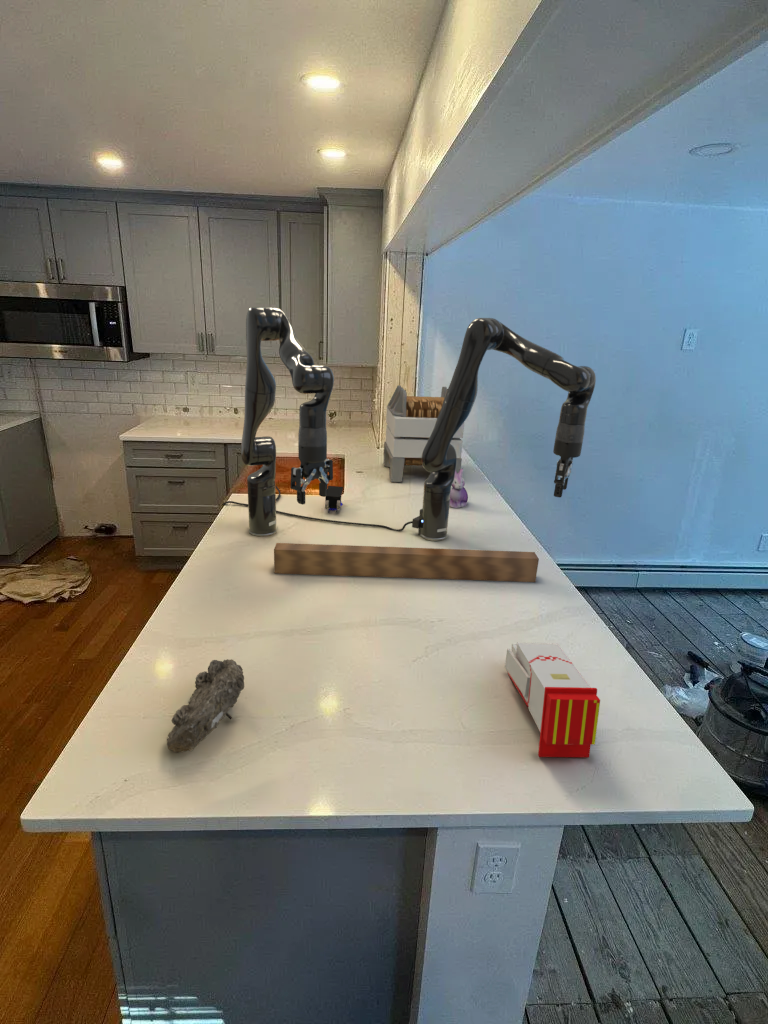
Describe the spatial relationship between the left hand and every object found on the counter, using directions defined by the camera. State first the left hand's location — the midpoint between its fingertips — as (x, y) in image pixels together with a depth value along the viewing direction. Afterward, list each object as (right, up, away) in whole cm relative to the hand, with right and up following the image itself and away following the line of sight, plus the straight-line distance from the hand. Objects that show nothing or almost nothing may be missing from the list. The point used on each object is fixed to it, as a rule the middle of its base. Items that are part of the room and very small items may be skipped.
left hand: (312, 499), depth 156 cm
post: (+26, -22, +14) cm, 37 cm away
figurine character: (0, -2, +65) cm, 65 cm away
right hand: (+71, +2, +10) cm, 72 cm away
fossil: (-13, -42, -48) cm, 65 cm away
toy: (+52, -43, -41) cm, 79 cm away
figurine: (+50, 0, +76) cm, 91 cm away
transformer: (+37, +15, +119) cm, 126 cm away
